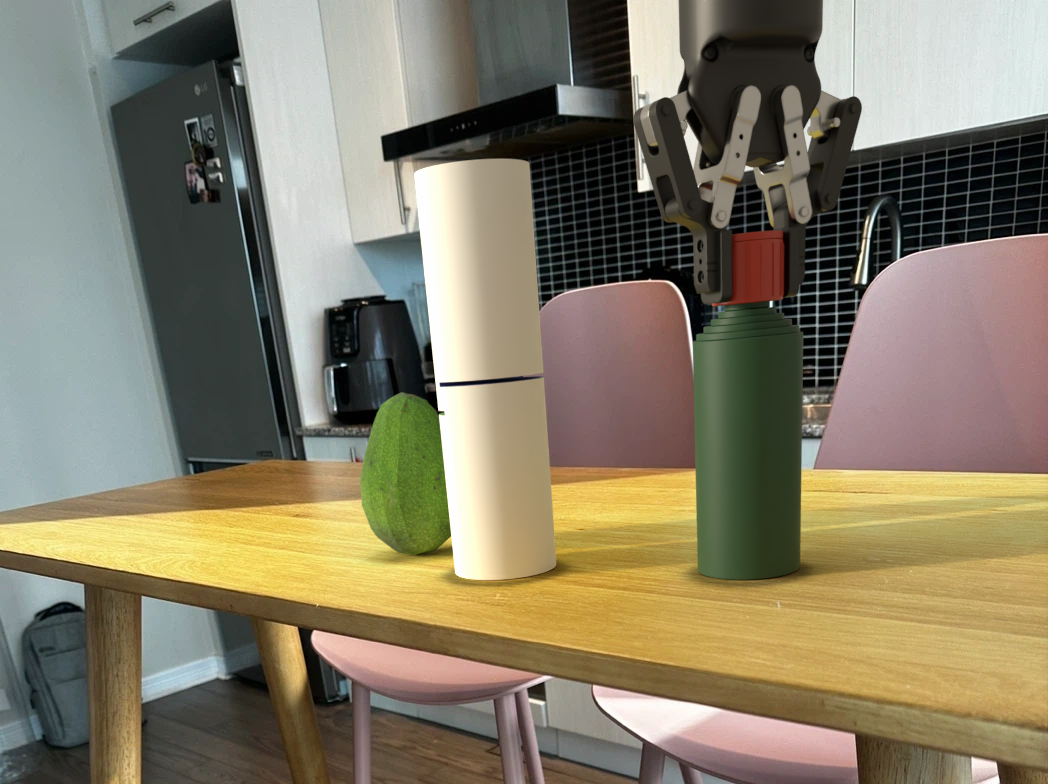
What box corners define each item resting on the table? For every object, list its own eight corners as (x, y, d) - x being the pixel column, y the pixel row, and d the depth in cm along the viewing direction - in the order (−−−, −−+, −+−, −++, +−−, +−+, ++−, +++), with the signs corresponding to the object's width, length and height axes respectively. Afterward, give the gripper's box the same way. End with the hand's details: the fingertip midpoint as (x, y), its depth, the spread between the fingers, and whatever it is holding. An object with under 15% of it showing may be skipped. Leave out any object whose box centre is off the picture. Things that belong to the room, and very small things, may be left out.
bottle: (760, 552, 70) (760, 247, 63) (821, 568, 64) (828, 234, 57) (678, 567, 68) (669, 253, 61) (734, 585, 62) (731, 241, 55)
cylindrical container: (498, 584, 67) (460, 156, 59) (435, 572, 73) (391, 177, 64) (577, 563, 72) (553, 160, 63) (512, 552, 77) (481, 179, 68)
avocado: (431, 566, 75) (411, 394, 71) (349, 562, 79) (326, 399, 75) (491, 543, 81) (476, 384, 77) (412, 541, 85) (394, 389, 81)
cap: (755, 302, 63) (755, 237, 62) (797, 298, 59) (798, 228, 58) (698, 307, 61) (696, 241, 60) (737, 303, 58) (737, 232, 57)
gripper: (669, -86, 48) (679, 305, 54) (908, -72, 53) (892, 287, 59) (596, -31, 55) (612, 313, 61) (814, -23, 60) (809, 296, 66)
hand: (750, 298), depth 60 cm, fingers closed on cap, 4 cm apart
